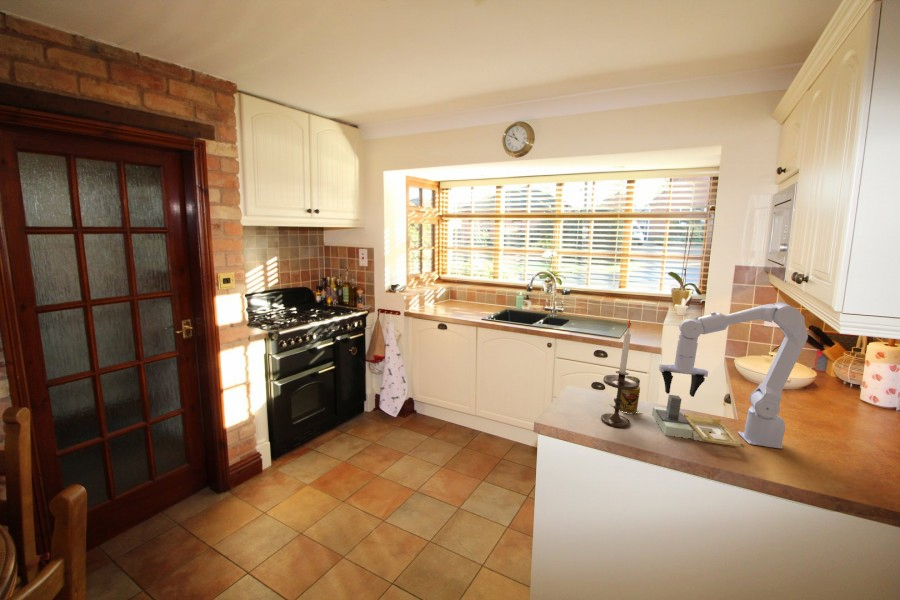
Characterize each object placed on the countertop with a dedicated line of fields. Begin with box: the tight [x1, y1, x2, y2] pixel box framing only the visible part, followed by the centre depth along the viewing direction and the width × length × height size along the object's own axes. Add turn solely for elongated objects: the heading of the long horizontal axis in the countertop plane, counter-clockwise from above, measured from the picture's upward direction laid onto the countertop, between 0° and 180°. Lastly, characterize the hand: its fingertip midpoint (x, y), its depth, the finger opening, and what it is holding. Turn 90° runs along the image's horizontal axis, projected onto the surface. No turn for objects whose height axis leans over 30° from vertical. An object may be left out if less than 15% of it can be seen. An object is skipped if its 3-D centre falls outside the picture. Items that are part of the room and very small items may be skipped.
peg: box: [656, 394, 689, 424], centre depth 142 cm, size 8×8×9 cm
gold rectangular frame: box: [683, 413, 745, 448], centre depth 135 cm, size 11×18×2 cm, turn 169°
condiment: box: [609, 375, 643, 415], centre depth 154 cm, size 7×8×12 cm
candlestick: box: [600, 319, 640, 429], centre depth 140 cm, size 11×11×35 cm
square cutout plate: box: [651, 406, 693, 439], centre depth 142 cm, size 8×16×3 cm, turn 169°
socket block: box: [688, 422, 735, 443], centre depth 138 cm, size 11×11×2 cm
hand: (679, 394), depth 144 cm, fingers open, 7 cm apart
